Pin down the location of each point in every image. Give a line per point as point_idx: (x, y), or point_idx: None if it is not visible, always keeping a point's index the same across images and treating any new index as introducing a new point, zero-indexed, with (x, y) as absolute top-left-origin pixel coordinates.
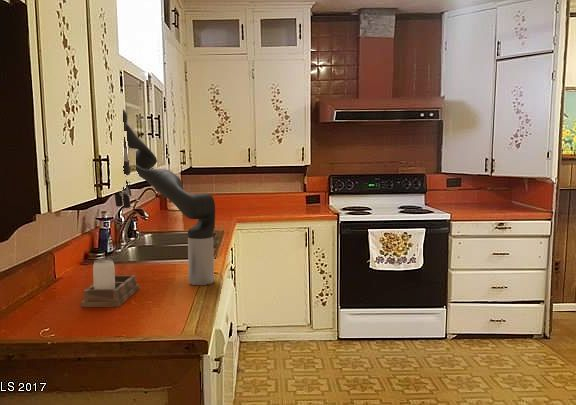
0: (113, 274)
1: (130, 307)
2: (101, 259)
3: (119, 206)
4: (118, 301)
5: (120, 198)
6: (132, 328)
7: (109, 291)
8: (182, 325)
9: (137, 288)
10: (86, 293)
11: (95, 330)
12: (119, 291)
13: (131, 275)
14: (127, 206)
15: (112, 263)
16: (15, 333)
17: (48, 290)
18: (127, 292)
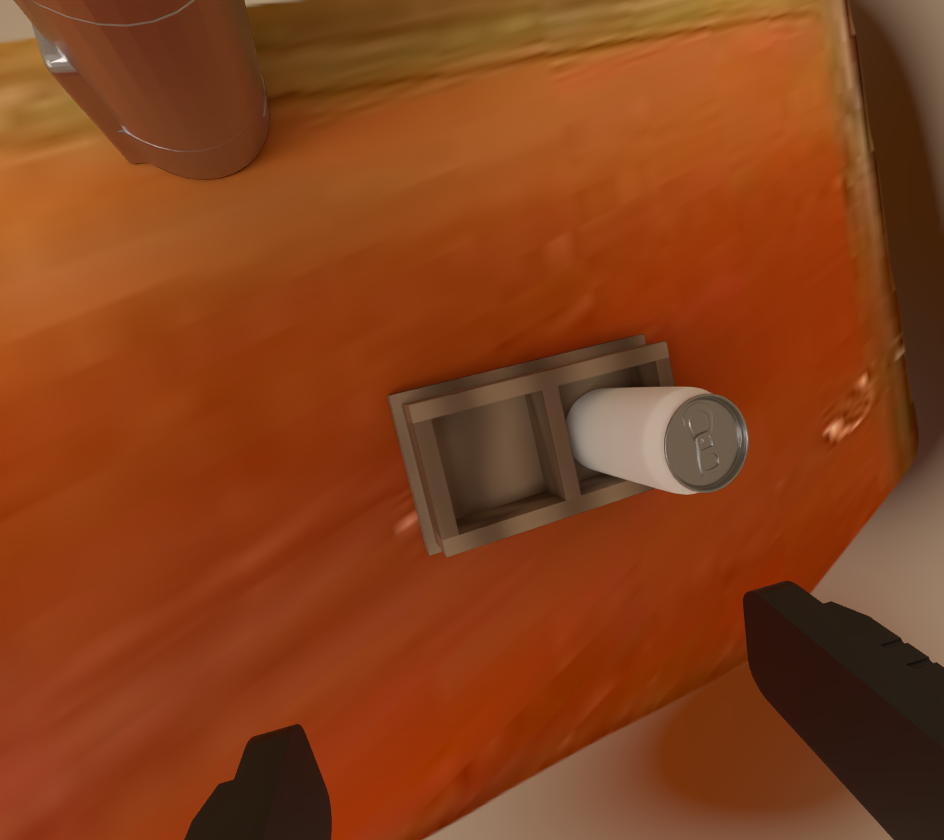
0: (655, 387)
1: (633, 289)
2: (679, 479)
3: (761, 631)
4: (640, 340)
5: (931, 701)
6: (796, 181)
7: (669, 372)
8: (754, 29)
9: (413, 389)
10: None
11: (823, 284)
12: (633, 348)
13: (418, 425)
14: (305, 781)
15: (689, 392)
16: (867, 488)
17: (500, 769)
18: (526, 373)
